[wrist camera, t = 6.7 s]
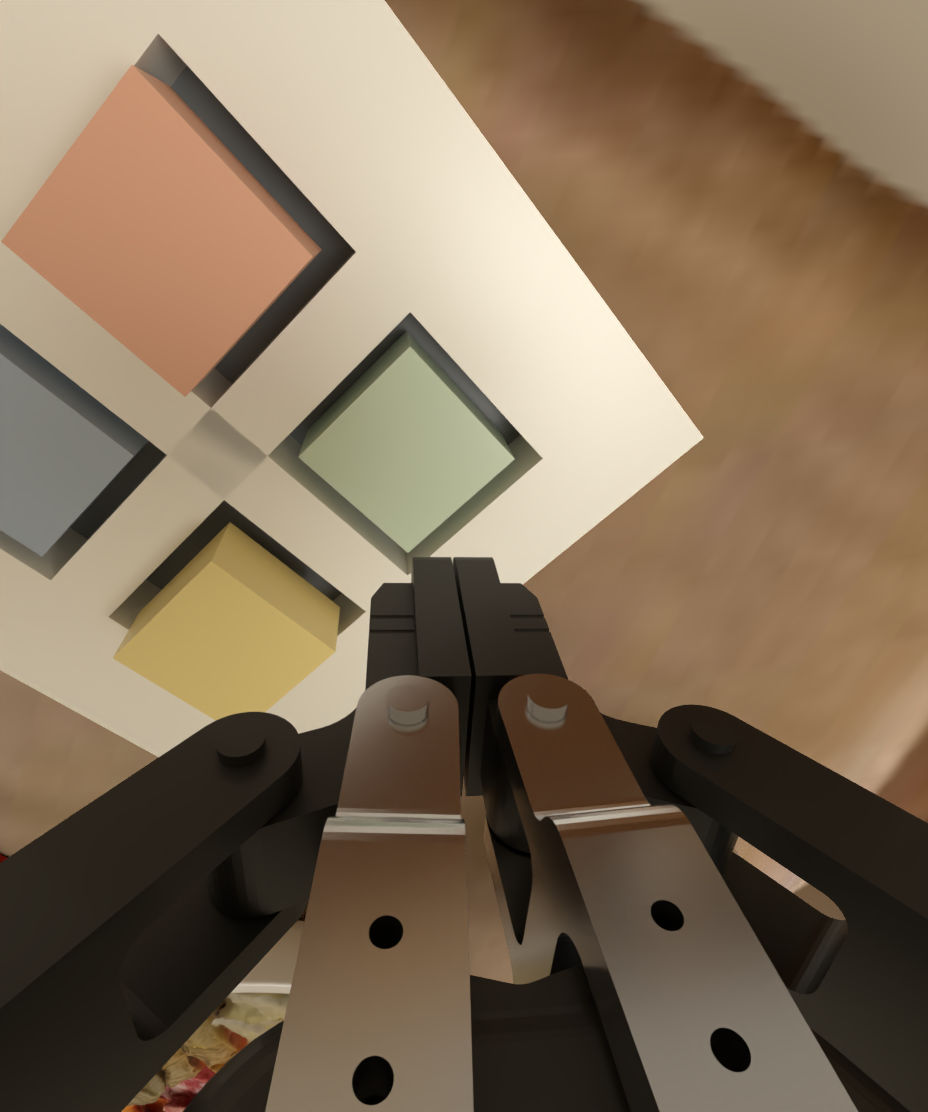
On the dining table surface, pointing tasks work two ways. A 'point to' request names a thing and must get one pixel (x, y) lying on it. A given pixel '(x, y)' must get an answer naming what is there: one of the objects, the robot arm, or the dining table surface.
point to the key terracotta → (161, 233)
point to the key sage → (405, 445)
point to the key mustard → (232, 629)
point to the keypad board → (306, 338)
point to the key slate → (52, 447)
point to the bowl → (225, 1030)
